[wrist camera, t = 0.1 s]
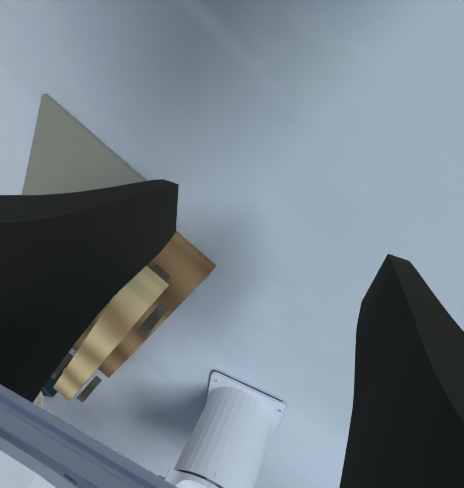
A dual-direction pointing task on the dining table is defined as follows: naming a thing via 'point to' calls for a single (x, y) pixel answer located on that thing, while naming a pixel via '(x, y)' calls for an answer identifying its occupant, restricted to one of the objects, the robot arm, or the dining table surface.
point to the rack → (180, 287)
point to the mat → (70, 156)
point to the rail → (111, 329)
